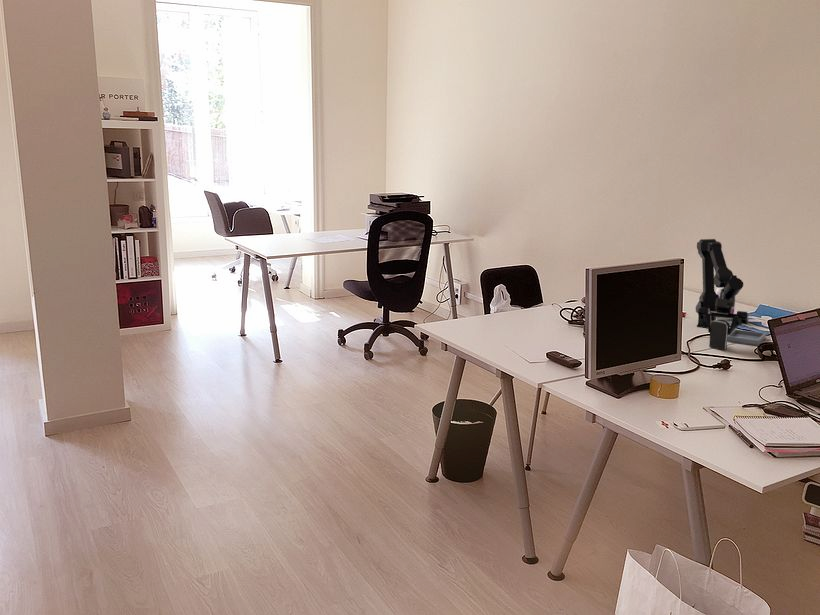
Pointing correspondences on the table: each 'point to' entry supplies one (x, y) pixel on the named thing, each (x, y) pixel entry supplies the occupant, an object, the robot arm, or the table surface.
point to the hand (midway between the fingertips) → (718, 333)
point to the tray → (746, 337)
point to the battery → (719, 334)
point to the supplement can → (719, 296)
